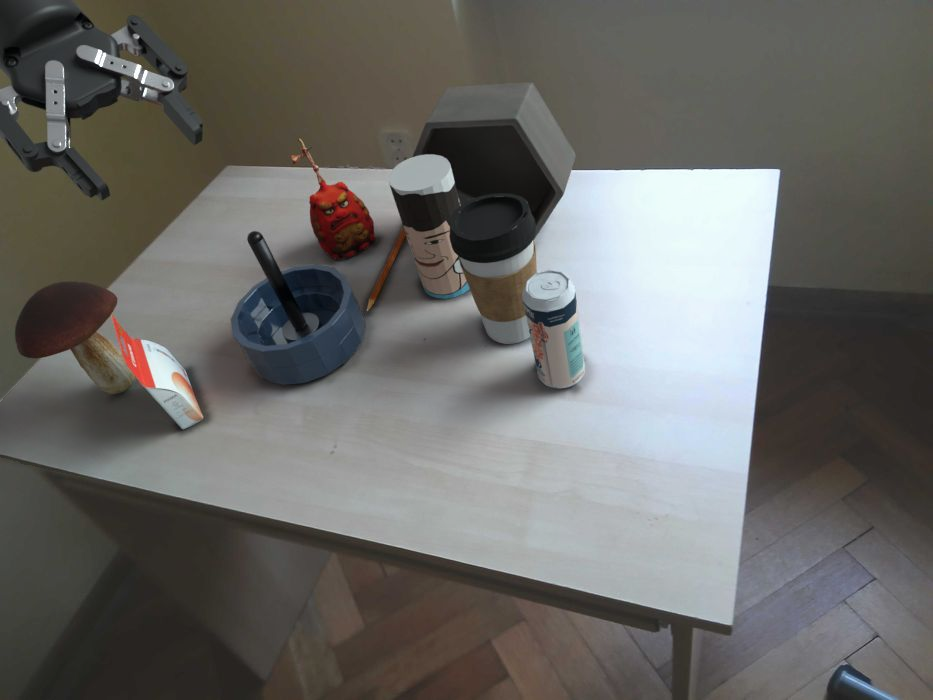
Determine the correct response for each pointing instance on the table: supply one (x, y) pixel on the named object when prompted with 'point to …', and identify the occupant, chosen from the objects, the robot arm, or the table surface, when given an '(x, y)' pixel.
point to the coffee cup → (497, 260)
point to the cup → (429, 221)
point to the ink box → (161, 377)
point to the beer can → (554, 328)
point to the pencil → (386, 269)
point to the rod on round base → (283, 292)
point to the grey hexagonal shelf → (500, 144)
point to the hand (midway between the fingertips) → (154, 165)
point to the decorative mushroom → (74, 331)
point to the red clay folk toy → (338, 216)
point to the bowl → (309, 356)
